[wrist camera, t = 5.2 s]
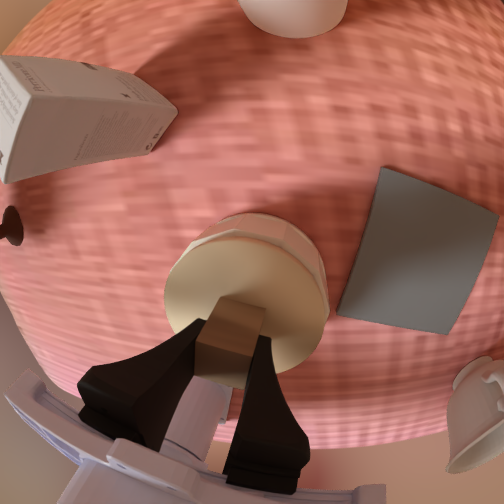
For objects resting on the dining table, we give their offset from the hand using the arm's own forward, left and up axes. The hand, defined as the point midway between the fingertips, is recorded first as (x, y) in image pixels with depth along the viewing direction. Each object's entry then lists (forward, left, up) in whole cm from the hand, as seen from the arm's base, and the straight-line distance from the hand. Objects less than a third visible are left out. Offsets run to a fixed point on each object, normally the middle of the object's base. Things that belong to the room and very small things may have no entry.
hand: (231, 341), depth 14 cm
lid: (0, 0, -3) cm, 3 cm away
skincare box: (+11, +11, -7) cm, 17 cm away
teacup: (-5, -25, -7) cm, 26 cm away
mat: (+4, -12, -7) cm, 15 cm away
